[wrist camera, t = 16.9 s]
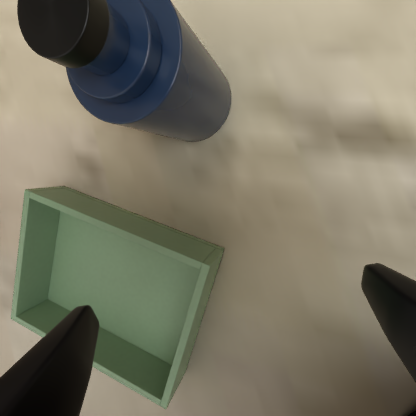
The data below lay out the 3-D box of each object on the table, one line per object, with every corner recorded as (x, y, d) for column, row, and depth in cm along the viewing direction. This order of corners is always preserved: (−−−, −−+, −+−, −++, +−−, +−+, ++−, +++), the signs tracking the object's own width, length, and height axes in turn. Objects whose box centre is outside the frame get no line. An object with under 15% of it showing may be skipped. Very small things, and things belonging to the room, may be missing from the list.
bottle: (241, 125, 20) (161, 59, 8) (171, 152, 22) (19, 134, 10) (217, 45, 19) (92, -162, 7) (148, 80, 22) (-40, -34, 9)
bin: (224, 248, 22) (210, 265, 18) (185, 372, 25) (165, 409, 21) (64, 185, 26) (24, 189, 22) (47, 298, 29) (10, 318, 25)
